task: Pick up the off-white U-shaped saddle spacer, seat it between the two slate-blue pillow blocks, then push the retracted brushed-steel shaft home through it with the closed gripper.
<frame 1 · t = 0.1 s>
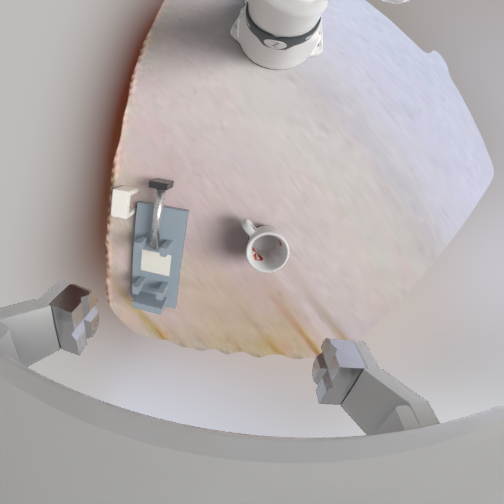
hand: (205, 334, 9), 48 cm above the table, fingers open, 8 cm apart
shaft: (157, 215, 52), point 4 cm above the table, slide at 0.0 cm
spacer: (129, 199, 55), on the table
cup: (261, 234, 58), on the table
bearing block: (157, 258, 60), on the table
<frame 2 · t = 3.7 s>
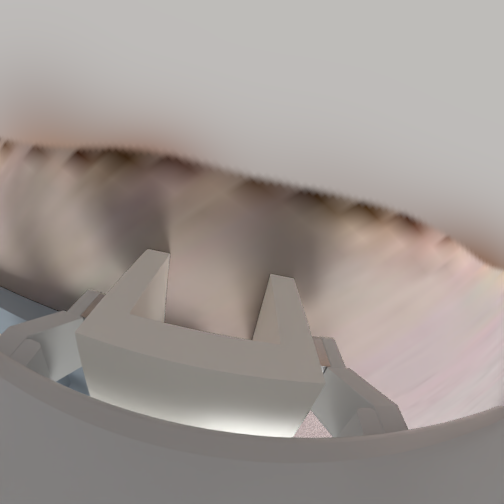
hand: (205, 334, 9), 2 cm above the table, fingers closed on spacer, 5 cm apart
spacer: (212, 305, 11), on the table, touching gripper
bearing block: (23, 358, 12), on the table
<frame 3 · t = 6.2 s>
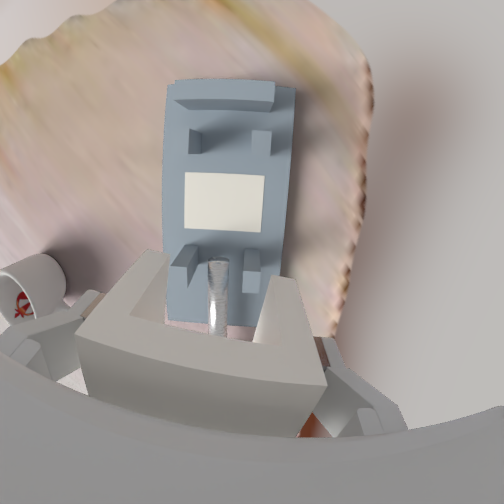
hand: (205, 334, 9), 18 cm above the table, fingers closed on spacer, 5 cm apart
shaft: (217, 329, 25), point 4 cm above the table, slide at 0.0 cm
spacer: (212, 306, 11), point 16 cm above the table, touching gripper
cup: (58, 281, 28), on the table
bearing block: (224, 204, 25), on the table
when the fingers open (4 cm above the table, at t = 8.4 s): spacer drops 1 cm, resting on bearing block.
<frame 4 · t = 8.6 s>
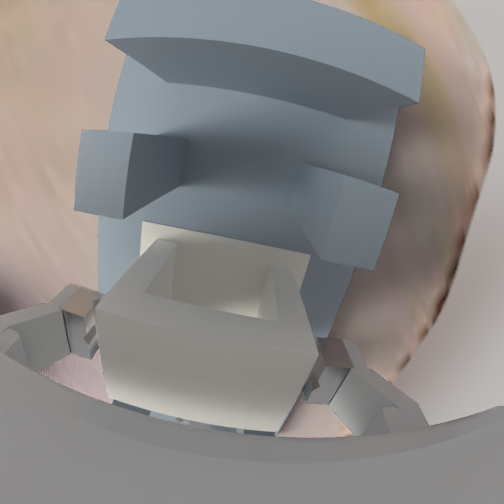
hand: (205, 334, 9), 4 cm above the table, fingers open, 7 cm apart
shaft: (188, 461, 13), point 4 cm above the table, slide at 0.0 cm
spacer: (215, 292, 12), point 2 cm above the table, touching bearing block
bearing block: (217, 286, 13), on the table
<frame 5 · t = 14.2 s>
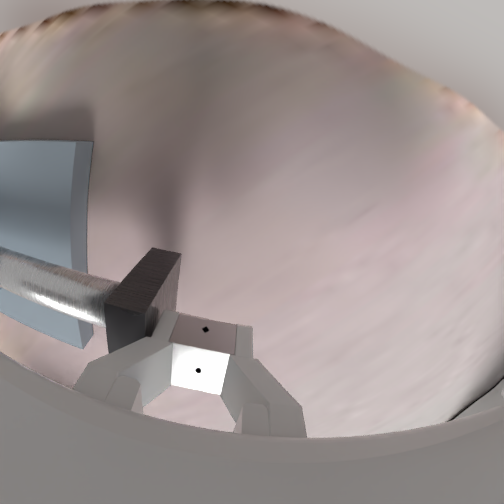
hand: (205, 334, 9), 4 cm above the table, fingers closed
shaft: (20, 278, 9), point 4 cm above the table, slide at 0.2 cm, touching gripper
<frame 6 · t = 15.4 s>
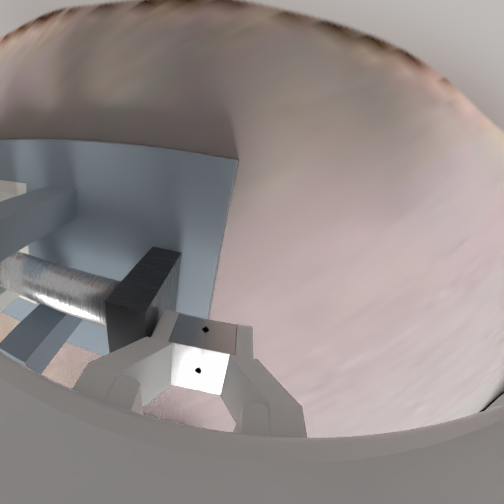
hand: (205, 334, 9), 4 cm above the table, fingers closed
shaft: (21, 277, 9), point 4 cm above the table, slide at 7.1 cm, touching gripper
spacer: (1, 239, 11), point 2 cm above the table, touching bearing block
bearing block: (22, 233, 12), on the table
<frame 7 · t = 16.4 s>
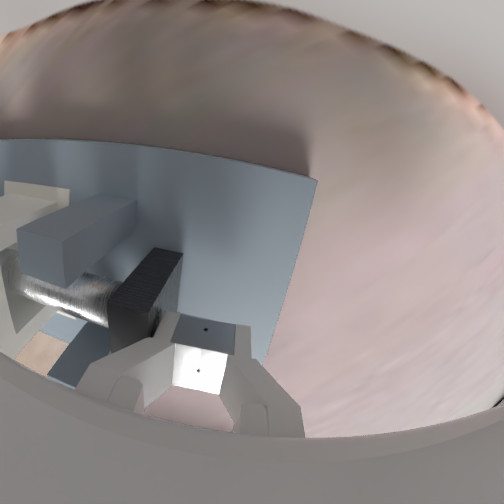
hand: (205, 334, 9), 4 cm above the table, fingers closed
shaft: (21, 277, 9), point 4 cm above the table, slide at 10.0 cm, touching gripper
spacer: (33, 250, 11), point 2 cm above the table, touching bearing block
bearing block: (57, 242, 12), on the table
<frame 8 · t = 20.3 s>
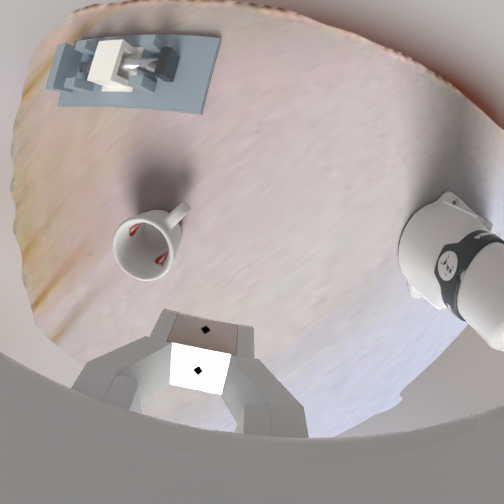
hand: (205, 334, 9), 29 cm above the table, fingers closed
shaft: (122, 64, 26), point 4 cm above the table, slide at 10.0 cm
spacer: (121, 68, 28), point 2 cm above the table, touching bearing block
cup: (168, 224, 38), on the table
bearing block: (129, 71, 30), on the table
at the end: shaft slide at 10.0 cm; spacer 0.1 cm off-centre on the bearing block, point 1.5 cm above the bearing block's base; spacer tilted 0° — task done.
